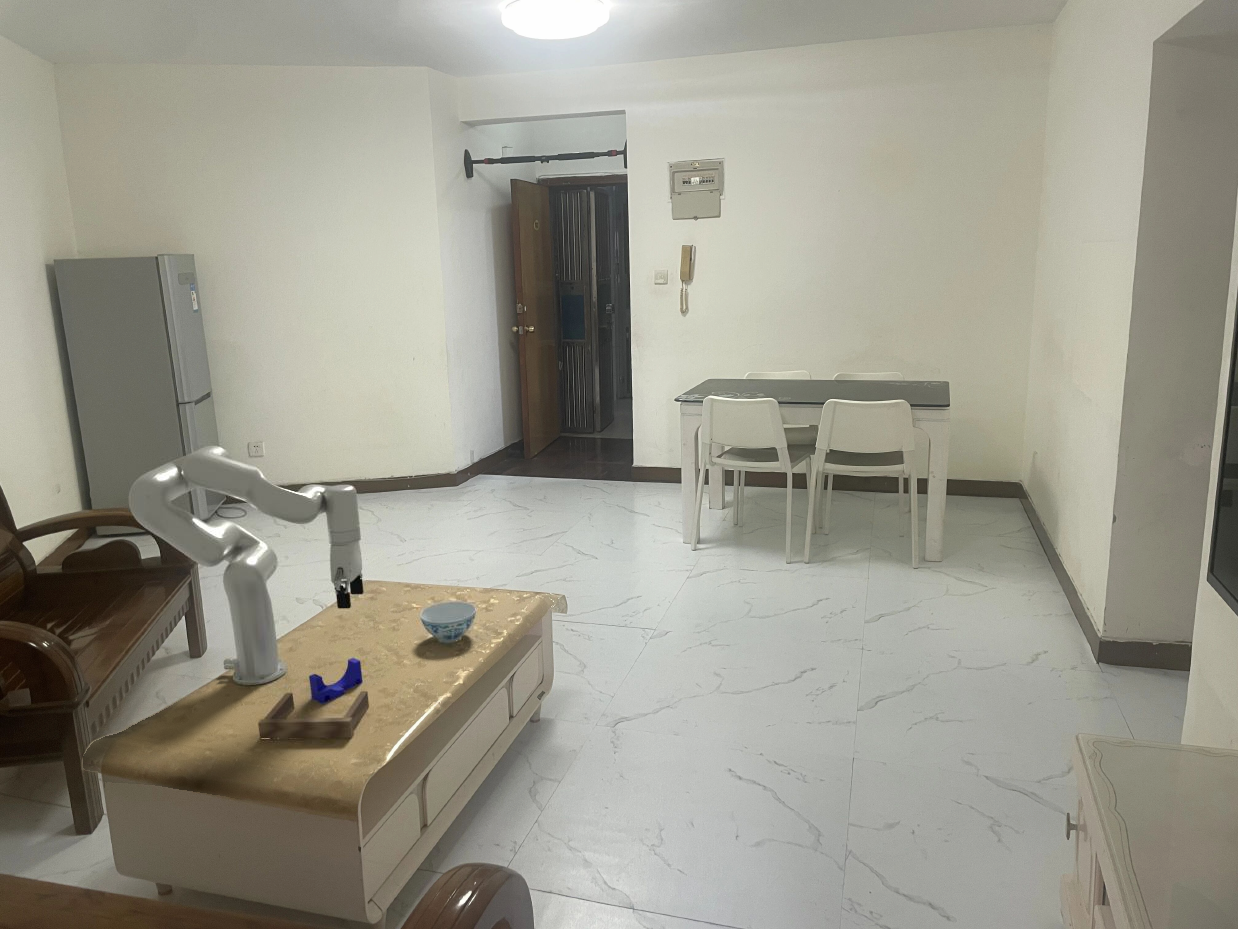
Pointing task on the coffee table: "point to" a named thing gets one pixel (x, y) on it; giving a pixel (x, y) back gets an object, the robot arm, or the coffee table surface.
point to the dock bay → (311, 721)
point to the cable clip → (337, 689)
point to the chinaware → (448, 620)
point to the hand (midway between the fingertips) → (350, 600)
